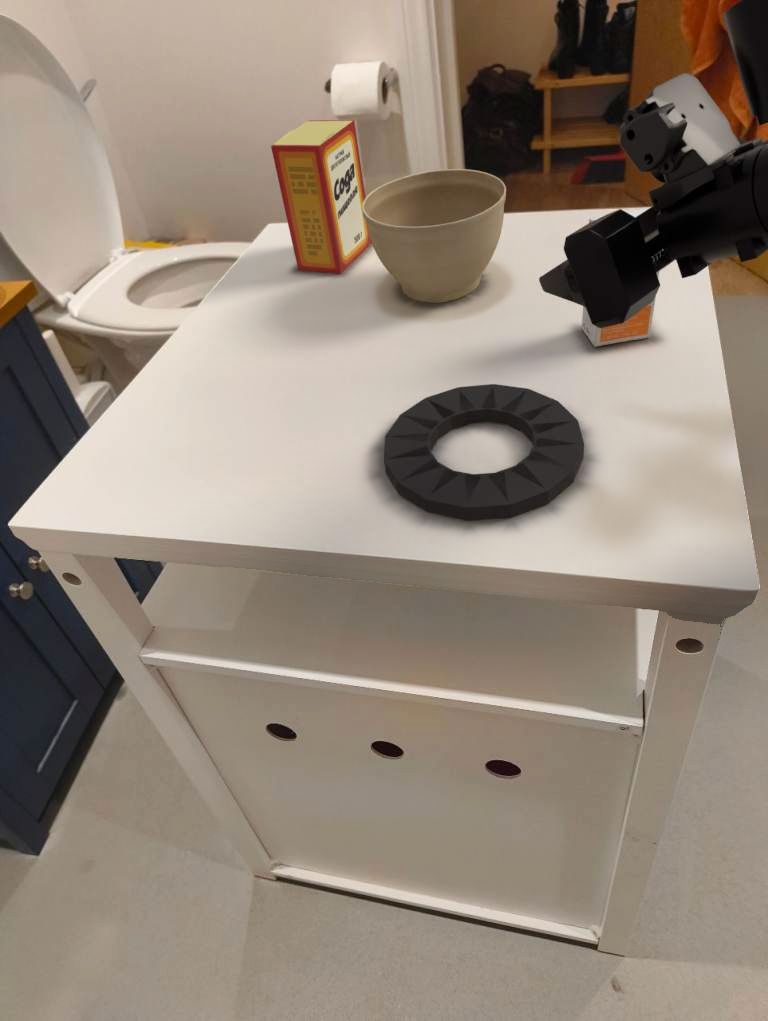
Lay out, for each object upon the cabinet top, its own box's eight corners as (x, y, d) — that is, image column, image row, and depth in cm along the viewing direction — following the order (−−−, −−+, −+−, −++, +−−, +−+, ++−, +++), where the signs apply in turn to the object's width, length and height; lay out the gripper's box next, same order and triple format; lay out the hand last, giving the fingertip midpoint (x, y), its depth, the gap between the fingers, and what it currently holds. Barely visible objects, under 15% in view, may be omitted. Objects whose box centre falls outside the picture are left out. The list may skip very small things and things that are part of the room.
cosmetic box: (594, 349, 75) (602, 234, 67) (580, 329, 78) (587, 217, 70) (652, 338, 75) (668, 222, 67) (636, 318, 78) (649, 205, 70)
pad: (566, 390, 71) (566, 377, 70) (597, 512, 58) (598, 498, 57) (389, 405, 73) (387, 393, 72) (382, 527, 60) (380, 513, 59)
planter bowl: (361, 275, 95) (347, 188, 88) (479, 246, 97) (475, 159, 89) (395, 331, 83) (382, 237, 76) (529, 297, 85) (529, 202, 78)
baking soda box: (330, 239, 104) (308, 117, 94) (371, 242, 102) (353, 116, 91) (298, 270, 99) (270, 142, 88) (341, 273, 96) (317, 143, 85)
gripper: (818, 11, 45) (615, 118, 58) (644, 99, 37) (454, 200, 50) (861, 189, 49) (660, 252, 62) (711, 305, 40) (516, 349, 54)
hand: (579, 260), depth 57 cm, fingers open, 9 cm apart
